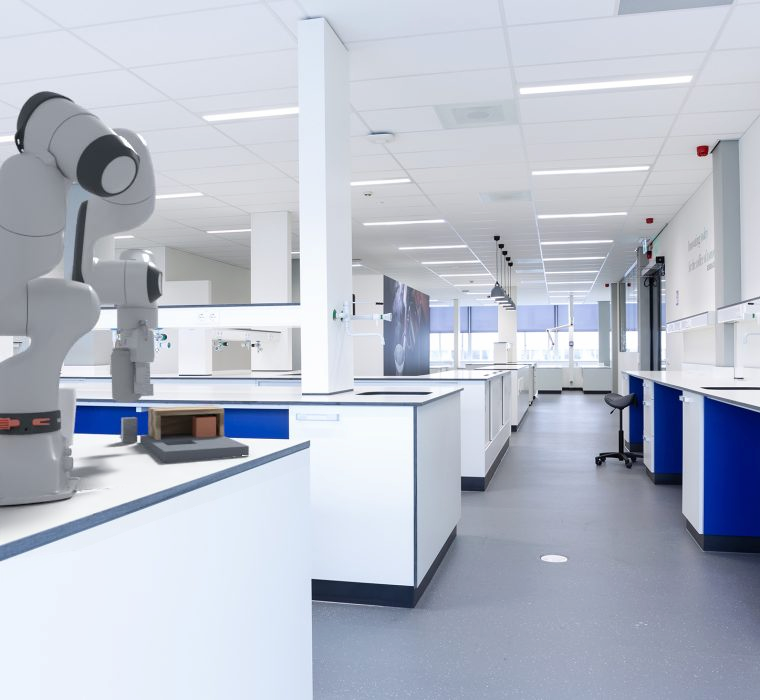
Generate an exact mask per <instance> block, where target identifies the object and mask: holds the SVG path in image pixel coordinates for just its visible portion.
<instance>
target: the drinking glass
mask: <svg viewBox="0 0 760 700" xmlns="http://www.w3.org/2000/svg"><path fill="white" fill-rule="evenodd" d="M76 409H77V388H76V387H59V396H58V410H60V411H61V417H62V421H61V429H60V432H61V434H62V435H63V436H64V437H66V439H68V440H69V447H70V446H73V445H74V433H75V423H76V412H77V410H76Z"/></svg>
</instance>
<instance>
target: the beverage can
mask: <svg viewBox="0 0 760 700" xmlns="http://www.w3.org/2000/svg"><path fill="white" fill-rule="evenodd" d="M126 350H128V349H127V348H126V347H125V348H121V347H115V348H112V352H111V354H110V365H111V366H110V368H111V370H110V371H111V397H112V399H113V400H114V401H115V402H119V403H133V402H137V401H139V399H140V398H142V397H143V396H142V394H133V363H135V362H131V361H130V351H126Z"/></svg>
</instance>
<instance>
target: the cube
mask: <svg viewBox="0 0 760 700" xmlns="http://www.w3.org/2000/svg"><path fill="white" fill-rule="evenodd" d="M192 436H195V437H213V436H216V417H214V416H211V415H210V416H192Z"/></svg>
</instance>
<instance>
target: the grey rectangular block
mask: <svg viewBox="0 0 760 700" xmlns="http://www.w3.org/2000/svg"><path fill="white" fill-rule="evenodd" d="M135 375H136V367H135V363H133V394H142V396H141V397H152V396H154V395H155V394H154V383H151V362H146V371H145V381H144V383H136V382H135Z"/></svg>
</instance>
